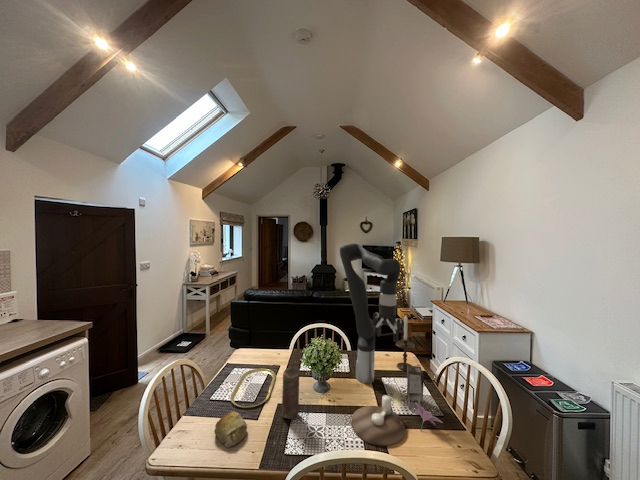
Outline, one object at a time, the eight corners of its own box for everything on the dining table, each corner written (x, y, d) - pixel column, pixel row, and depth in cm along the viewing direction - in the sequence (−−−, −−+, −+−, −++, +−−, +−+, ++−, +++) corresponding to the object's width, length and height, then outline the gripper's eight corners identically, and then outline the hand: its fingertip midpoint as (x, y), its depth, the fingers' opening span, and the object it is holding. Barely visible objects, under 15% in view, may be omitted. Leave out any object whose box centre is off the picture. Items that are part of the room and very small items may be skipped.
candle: (301, 412, 126) (301, 368, 125) (294, 423, 119) (295, 377, 118) (286, 408, 129) (286, 365, 128) (278, 418, 122) (278, 373, 121)
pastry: (220, 423, 119) (220, 404, 119) (250, 422, 119) (250, 404, 119) (208, 449, 105) (208, 428, 105) (241, 448, 105) (241, 428, 105)
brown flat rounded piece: (340, 424, 119) (340, 420, 118) (371, 402, 134) (371, 399, 134) (385, 455, 103) (385, 451, 103) (414, 426, 118) (414, 422, 118)
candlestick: (416, 372, 163) (418, 312, 162) (398, 371, 163) (399, 312, 162) (411, 363, 174) (412, 307, 172) (393, 363, 174) (394, 307, 173)
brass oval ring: (224, 409, 128) (224, 406, 128) (245, 370, 163) (245, 368, 163) (265, 410, 128) (265, 407, 128) (278, 371, 163) (278, 368, 163)
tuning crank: (380, 427, 115) (380, 412, 114) (369, 422, 118) (369, 406, 118) (393, 412, 124) (394, 398, 124) (383, 407, 127) (383, 393, 127)
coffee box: (423, 410, 129) (424, 375, 128) (408, 408, 130) (409, 374, 129) (420, 398, 138) (421, 366, 137) (406, 396, 139) (407, 364, 138)
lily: (445, 440, 112) (448, 414, 115) (420, 433, 109) (424, 406, 113) (425, 430, 123) (428, 406, 126) (402, 423, 120) (406, 399, 124)
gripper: (406, 304, 125) (405, 340, 125) (379, 298, 135) (378, 331, 136) (397, 307, 120) (396, 345, 120) (369, 301, 130) (369, 335, 131)
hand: (386, 338), depth 128 cm, fingers open, 8 cm apart
